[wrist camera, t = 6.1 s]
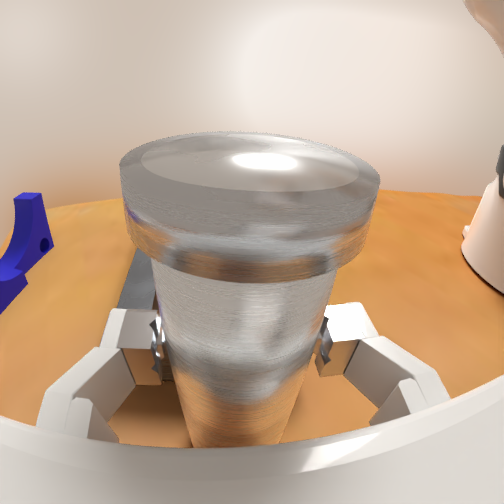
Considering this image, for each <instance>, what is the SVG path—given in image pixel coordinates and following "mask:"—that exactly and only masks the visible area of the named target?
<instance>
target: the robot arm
mask: <svg viewBox="0 0 504 504" xmlns="http://www.w3.org/2000/svg"><path fill="white" fill-rule="evenodd" d="M463 2H464V3H465V6H466V8H467V9H468V11H469V12H470V14H471V15H472V16H473V18H475V20H476V21H477V22H478V23H479V24H480V25H481V26H482V27H483V28H485V30H486V31H487V32H488V33H489V34H490V35H491V37H492V38H493V39H494V41H495V42H496V44H497V45H498V47H499V49H500V51H501V52H502V54H503V57H504V0H463ZM496 172H497V173H498V174H497V177H496V179H495V180H494V181H493V182H491V183H490V184H488V186H487V188H486V190H485V192H484V195H483V197H482V200H481V202H480V204H479V207H478V209H477V211H476V214H475V216H474V218H473V220H472V223H471V225H470V226H465V228H464V230H463V232H462V233H463V236H464V238H465V239H464V241H463V243H462V245H461V248H462V252H463V255H464V256H465V258H466V260H467V261H468V263H469V264H470V265H471V266H472V267H473V269H474V270H475V271H476V272H477V273H478V274H479V275H480V276H481V277H483V278H484V279H485V280H486V281H487V282H488V283H490V284H491V285H492V286H494V287H495V288H496V289H498V290H499V291H501V292H502V293H504V145H502V147H501V151H500V154H499V155H498V163H497V166H496ZM160 323H161V317H160V312H159V310H145V309H117V308H113V309H112V310H111V311H110V314H109V317H108V320H107V323H106V327H105V330H104V333H103V336H102V340H101V343H100V346H99V347H94V348H93V349H92V350H91V351H90V352H89V353H88V354H86V355H85V356H84V357H83V358H82V359H81V360H80V361H78V362H77V363H76V364H75V365H74V366H73V367H72V368H70V369H69V370H68V371H67V372H66V373H65V374H64V375H63V376H61V377H60V378H59V379H58V380H57V381H56V382H55V383H54V384H53V385H51V386H50V387H49V388H48V389H47V390H46V392H45V395H44V398H43V401H42V405H41V408H40V412H39V415H38V419H37V423H36V427H35V426H31V425H28V424H25V423H21V422H18V421H15V420H12V419H9V418H6V417H3V416H0V504H504V374H503V375H501V376H500V377H498V378H496V379H494V380H492V381H490V382H488V383H486V384H484V385H482V386H480V387H478V388H475V389H473V390H471V391H469V392H467V393H464V394H462V395H460V396H458V397H455V398H453V399H451V398H450V397H449V395H448V393H447V391H446V389H445V387H444V385H443V383H442V382H441V380H440V378H439V376H438V374H437V372H436V371H435V370H434V369H433V368H431V367H430V366H428V365H427V364H425V363H424V362H422V361H421V360H419V359H418V358H416V357H414V356H413V355H411V354H410V353H408V352H407V351H405V350H404V349H402V348H401V347H399V346H398V345H396V344H395V343H393V342H392V341H390V340H389V339H387V338H386V337H384V336H379V335H378V333H377V331H376V329H375V328H374V326H373V324H372V322H371V320H370V318H369V317H368V315H367V313H366V311H365V309H364V308H363V306H362V304H361V303H360V302H352V303H345V304H344V303H342V304H330V305H327V309H326V312H325V315H324V319H323V322H322V325H321V328H320V332H319V335H318V338H317V341H316V344H315V347H314V350H313V353H315V354H316V355H317V356H316V359H315V364H316V367H317V370H318V373H319V376H320V377H327V376H335V375H343V374H344V375H343V376H344V377H345V378H346V379H348V380H349V381H350V382H351V383H352V384H353V385H354V386H355V387H356V388H357V389H358V390H359V391H360V392H361V393H362V394H364V395H365V396H366V397H367V398H368V399H369V400H370V401H371V402H372V403H373V404H374V405H375V406H376V407H378V408H379V409H378V411H377V412H376V413H375V414H374V416H373V417H372V418H371V420H370V421H369V423H370V426H369V427H366V428H362V429H357V430H353V431H349V432H344V433H340V434H335V435H330V436H325V437H319V438H314V439H308V440H301V441H294V442H287V443H279V444H270V445H259V446H247V447H230V448H169V447H152V446H140V445H130V444H121V443H119V438H118V437H117V435H116V434H115V433H114V432H113V430H112V429H111V428H110V426H109V425H108V424H107V422H108V421H109V420H110V419H111V417H112V416H113V415H114V413H115V412H116V411H117V410H118V408H119V407H120V406H121V404H122V403H123V402H124V401H125V399H126V398H127V397H128V395H129V394H130V393H131V392H132V390H133V389H134V388H135V387H136V385H162V375H163V366H162V362H161V360H162V359H163V358H164V354H165V338H164V332H163V328H162V327H160Z"/></svg>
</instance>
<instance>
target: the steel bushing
mask: <svg viewBox="0 0 504 504" xmlns="http://www.w3.org/2000/svg"><path fill="white" fill-rule="evenodd" d="M119 165H120V176H121V186H122V194H123V203H124V211H125V219H126V225H127V231H128V234H129V236H130V238H131V240H132V241H133V242H134V243H135V245H136V246H137V247H138V248H139V249H140V250H141V251H143V252H144V253H145V254H146V255H147V256H149V257H151V263H152V270H153V276H154V283H155V289H156V295H157V300H158V306H159V311H160V317H161V322H162V327H163V332H164V337H165V342H166V346H167V351H168V355H169V360H170V364H171V368H172V373H173V377H174V381H175V385H176V389H177V393H178V396H179V400H180V404H181V407H182V411H183V415H184V418H185V422H186V425H187V428H188V432H189V435H190V438H191V442H192V445H193V448H230V447H247V446H259V445H270V444H279V442H280V439H281V437H282V434H283V432H284V430H285V427H286V425H287V422H288V419H289V417H290V414H291V412H292V409H293V407H294V404H295V401H296V399H297V396H298V393H299V391H300V388H301V385H302V382H303V379H304V377H305V374H306V371H307V368H308V365H309V362H310V359H311V356H312V353H313V350H314V347H315V344H316V341H317V338H318V335H319V332H320V328H321V325H322V322H323V319H324V315H325V312H326V309H327V305H328V302H329V298H330V295H331V291H332V288H333V284H334V281H335V277H336V273H337V270H338V268H340V267H342V266H344V265H345V264H347V263H348V262H350V261H351V260H353V259H354V258H355V257H356V256H357V255H358V254H359V253H360V251H361V250H362V248H363V247H364V244H365V241H366V237H367V233H368V230H369V226H370V222H371V218H372V214H373V210H374V206H375V202H376V198H377V194H378V189H379V185H380V176H379V174H378V173H377V171H376V170H375V169H374V168H373V167H372V166H371V165H369V164H368V163H367V162H365V161H363V160H362V159H360V158H358V157H356V156H354V155H352V154H350V153H348V152H345V151H343V150H340V149H337V148H334V147H331V146H328V145H325V144H322V143H318V142H314V141H310V140H306V139H301V138H295V137H290V136H284V135H277V134H268V133H257V132H234V131H229V132H228V131H227V132H203V133H192V134H185V135H178V136H172V137H168V138H163V139H159V140H156V141H152V142H150V143H146V144H144V145H141V146H139V147H137V148H135V149H133V150H131V151H130V152H128V153H127V154H126V155H125V156H124V157H123V158H122V159H121V161H120V164H119Z"/></svg>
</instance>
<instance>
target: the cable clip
mask: <svg viewBox="0 0 504 504" xmlns="http://www.w3.org/2000/svg"><path fill="white" fill-rule="evenodd" d="M14 205H15V225H14V231H13V235H12V238H11V241H10V244H9V246H8V248H7V250H6V252H5V254H4V255H3V257H2V258H1V259H0V314H1V313H2V312H3V311H4V310H5V309H6V307H7V306H8V305H9V304H10V303H11V302H12V301H13V300H14V298H15V297H16V296H17V295H18V294H19V293H20V292H21V291H22V290H23V289H24V288H25V286H26V285H27V284H28V282H27V280H26V277H25V275H24V274H25V273H26V272H27V271H28V270H29V269H30V268H32V267H33V266H34V265H35V264H36V263H37V262H38V261H39V260H40V259H41V258H42V257H43V256H44V255H45V254H46V253H47V252H48V251H49V250H50V249H52V248H53V247H54V244H53V241H52V237H51V233H50V229H49V225H48V221H47V217H46V213H45V209H44V204H43V200H42V195H41V193H22V194H20V195H18V196H17V197H15V198H14Z"/></svg>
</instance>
